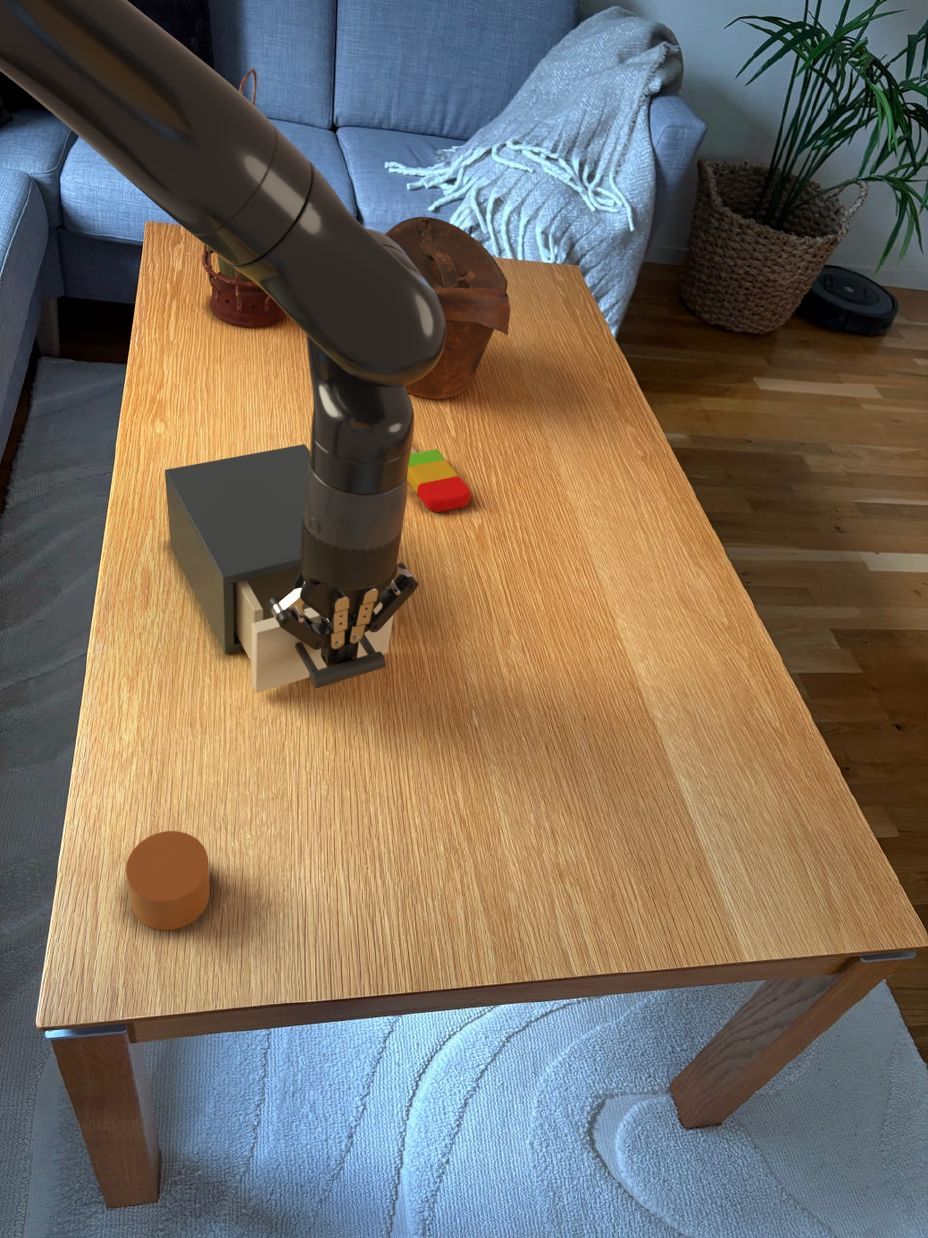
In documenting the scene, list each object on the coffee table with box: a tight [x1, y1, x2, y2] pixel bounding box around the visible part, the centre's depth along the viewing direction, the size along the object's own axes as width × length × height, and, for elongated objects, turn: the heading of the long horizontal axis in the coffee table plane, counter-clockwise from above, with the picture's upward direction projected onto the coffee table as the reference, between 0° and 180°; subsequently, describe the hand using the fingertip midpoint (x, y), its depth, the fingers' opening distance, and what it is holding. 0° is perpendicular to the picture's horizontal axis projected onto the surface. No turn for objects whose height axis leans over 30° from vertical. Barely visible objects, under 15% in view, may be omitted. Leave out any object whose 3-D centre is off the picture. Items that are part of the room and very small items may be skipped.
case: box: [383, 216, 511, 400], centre depth 119 cm, size 18×20×18 cm
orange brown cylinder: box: [125, 830, 211, 931], centre depth 67 cm, size 6×6×4 cm
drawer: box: [233, 566, 394, 694], centre depth 85 cm, size 20×13×8 cm
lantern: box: [201, 68, 287, 329], centre depth 119 cm, size 12×12×30 cm
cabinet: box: [164, 443, 310, 655], centre depth 90 cm, size 16×14×10 cm
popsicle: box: [407, 446, 471, 513], centre depth 110 cm, size 6×15×2 cm, turn 29°
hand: (337, 665), depth 81 cm, fingers closed
